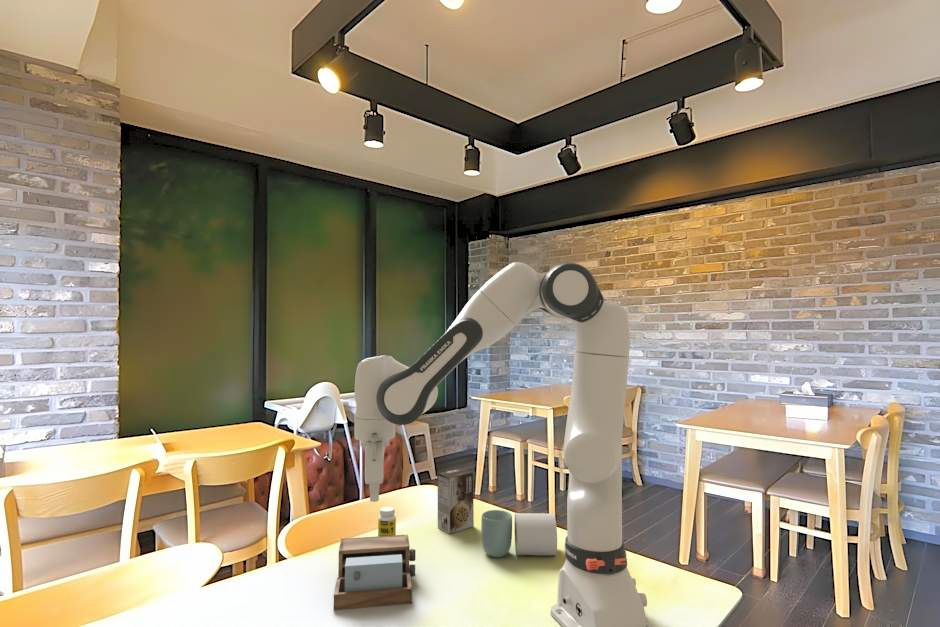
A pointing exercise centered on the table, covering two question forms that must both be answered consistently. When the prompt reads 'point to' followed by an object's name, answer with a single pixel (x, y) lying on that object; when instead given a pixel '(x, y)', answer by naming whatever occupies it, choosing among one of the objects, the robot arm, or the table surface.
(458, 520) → the coffee box
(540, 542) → the toilet paper
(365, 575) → the door
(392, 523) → the supplement bottle
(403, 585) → the cabinet
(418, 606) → the table surface
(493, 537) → the cup
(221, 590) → the table surface
